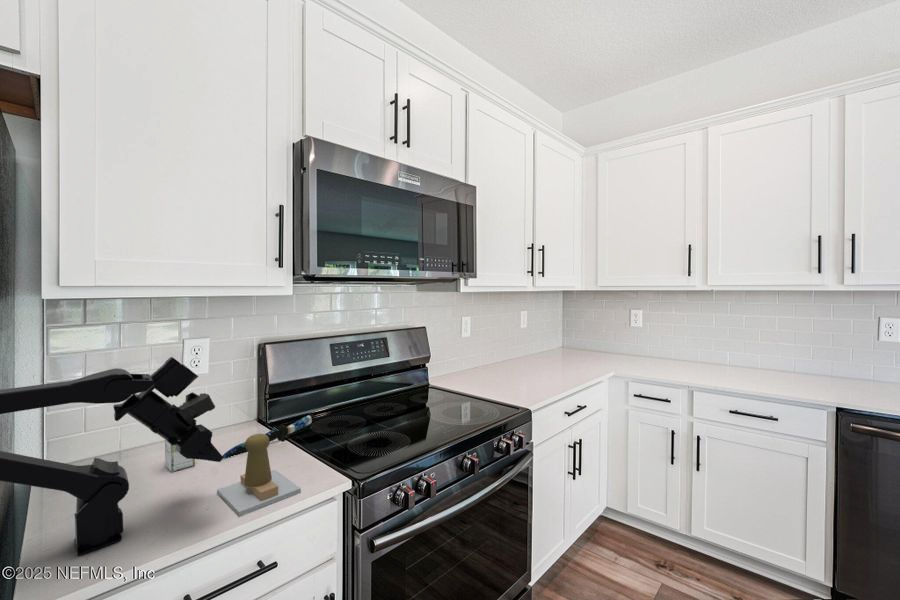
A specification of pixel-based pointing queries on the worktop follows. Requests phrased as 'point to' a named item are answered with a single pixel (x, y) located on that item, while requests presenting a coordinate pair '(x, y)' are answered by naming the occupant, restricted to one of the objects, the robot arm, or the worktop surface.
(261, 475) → the olive pepper mill
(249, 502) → the ridge board
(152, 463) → the worktop surface
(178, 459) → the syrup box
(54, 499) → the worktop surface
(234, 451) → the knife
